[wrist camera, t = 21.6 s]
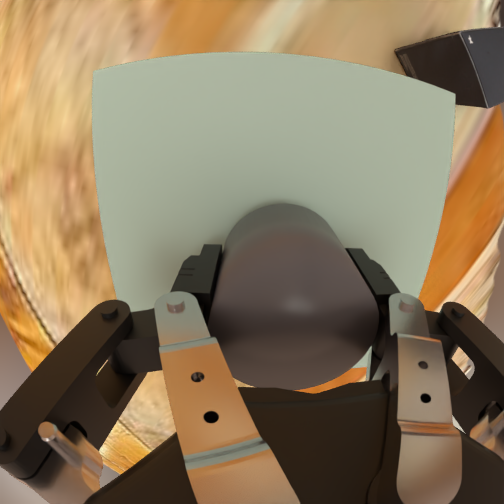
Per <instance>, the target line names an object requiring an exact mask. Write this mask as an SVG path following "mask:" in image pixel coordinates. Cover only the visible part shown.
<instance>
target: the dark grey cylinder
mask: <svg viewBox="0 0 504 504" xmlns="http://www.w3.org/2000/svg"><path fill="white" fill-rule="evenodd" d="M378 325H379V311H378V307H377V303H376V301H375V298H374V296H373V295H372V293H371V291H370V289H369V288H368V286H367V284H366V283H365V281H364V279H363V278H362V276H361V274H360V273H359V271H358V269H357V268H356V266H355V264H354V263H353V261H352V259H351V258H350V256H349V255H348V253H347V251H346V250H345V248H344V247H343V245H342V244H341V242H340V240H339V239H338V237H337V236H336V234H335V233H334V231H333V230H332V228H331V227H330V225H329V224H328V223H327V222H326V221H325V220H324V219H323V218H322V217H321V216H320V215H318V214H317V213H316V212H314V211H312V210H310V209H308V208H305V207H303V206H299V205H295V204H273V205H268V206H264V207H261V208H259V209H256V210H254V211H252V212H250V213H249V214H247V215H246V216H244V217H243V218H242V219H241V220H240V221H239V222H238V223H237V224H236V225H235V226H234V227H233V229H232V230H231V231H230V233H229V235H228V237H227V239H226V242H225V244H224V249H223V253H222V258H221V263H220V267H219V272H218V277H217V282H216V286H215V291H214V296H213V301H212V306H211V311H210V316H209V321H208V327H207V329H208V331H209V334H210V336H211V337H215V338H216V339H217V341H218V344H219V346H220V349H221V351H222V353H223V356H224V358H225V360H226V363H227V365H228V367H229V370H230V372H231V374H232V377H233V378H235V379H237V380H239V381H241V382H243V383H245V384H248V385H250V386H254V387H259V388H272V387H276V388H281V389H287V390H300V389H306V388H310V387H314V386H318V385H321V384H324V383H326V382H328V381H331V380H333V379H335V378H337V377H339V376H340V375H342V374H344V373H345V372H347V371H348V370H349V369H351V368H352V367H353V366H355V365H356V364H357V363H358V362H359V361H360V360H361V359H362V358H363V356H364V355H365V354H366V353H367V351H368V350H369V348H370V347H371V345H372V343H373V341H374V339H375V337H376V334H377V330H378Z"/></svg>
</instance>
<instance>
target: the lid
mask: <svg viewBox="0 0 504 504" xmlns="http://www.w3.org/2000/svg"><path fill="white" fill-rule="evenodd" d="M454 124H455V94H454V93H452V92H449V91H447V90H444V89H442V88H439V87H436V86H434V85H431V84H428V83H425V82H422V81H419V80H416V79H413V78H410V77H407V76H404V75H400V74H397V73H393V72H390V71H386V70H382V69H378V68H374V67H370V66H365V65H361V64H356V63H351V62H346V61H340V60H334V59H328V58H321V57H314V56H305V55H295V54H284V53H267V52H213V53H197V54H185V55H176V56H167V57H160V58H153V59H147V60H141V61H135V62H130V63H125V64H121V65H116V66H112V67H107V68H103V69H99V70H96V71H93V85H92V135H93V154H94V168H95V179H96V188H97V196H98V204H99V211H100V218H101V224H102V230H103V236H104V242H105V247H106V252H107V257H108V262H109V266H110V271H111V275H112V280H113V284H114V288H115V292H116V296H117V300H121V301H124V302H126V303H127V304H128V305H129V307H130V310H131V312H135V311H142V310H148V309H152V308H154V304H155V302H156V300H157V299H158V298H159V297H161V296H162V295H164V294H167V293H170V291H171V289H172V286H173V284H174V282H175V279H176V277H177V275H178V272H179V270H180V268H181V266H182V263H183V261H184V260H186V259H187V258H188V257H189V256H191V255H200V253H201V250H202V248H203V245H204V244H221V245H222V253H223V249H224V244H225V242H226V239H227V237H228V235H229V233H230V231H231V230H232V229H233V227H234V226H235V225H236V224H237V223H238V222H239V221H240V220H241V219H242V218H243V217H244V216H246V215H247V214H249V213H250V212H252V211H254V210H256V209H259V208H261V207H264V206H268V205H273V204H295V205H299V206H303V207H305V208H308V209H310V210H312V211H314V212H316V213H317V214H318V215H320V216H321V217H322V218H323V219H324V220H325V221H326V222H327V223H328V224H329V225H330V227H331V228H332V230H333V231H334V233H335V234H336V236H337V237H338V239H339V240H340V242H341V244H342V245H343V247H344V248H362V249H363V250H364V251H365V253H366V254H367V255H368V257H369V258H370V259H372V260H374V261H376V262H377V263H378V264H380V265H381V266H382V267H383V268H384V270H385V271H386V273H387V274H388V275H389V277H390V279H392V281H393V282H394V283H395V285H396V286H397V288H398V289H399V290H400V292H401V293H405V294H409V295H412V296H414V297H416V298H417V299H418V297H419V294H420V291H421V288H422V285H423V282H424V279H425V276H426V273H427V270H428V267H429V263H430V260H431V256H432V253H433V249H434V246H435V242H436V238H437V234H438V230H439V226H440V221H441V217H442V212H443V208H444V203H445V197H446V192H447V186H448V180H449V173H450V166H451V158H452V149H453V138H454ZM370 349H371V347H370V348H369V350H368V351H367V353H366V354H365V355H364V356H363V358H362V359H361V360H360V361H359V362H358V363H357V364H356V365H355V366H353V367H352V368H360V367H367V363H368V354H369V352H370Z"/></svg>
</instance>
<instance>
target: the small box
mask: <svg viewBox="0 0 504 504" xmlns="http://www.w3.org/2000/svg"><path fill="white" fill-rule="evenodd" d="M395 52H396V54H397V57H398V58H399V60H400V61H401V64H402V66H403V68H404V70H405V72H406V74H407V76H408V77H410V78H413V79H416V80H419V81H422V82H425V83H428V84H431V85H434V86H436V87H439V88H442V89H444V90H447V91H449V92H452V93H454V94H455V105H465V106H474V107H483V108H491V107H493V106H496V105H498V104H500V103H503V102H504V27H492V28H480V29H471V30H463V31H457V32H453V33H449V34H446V35H442V36H438V37H435V38H431V39H427V40H425V41H422V42H418V43H415V44H412V45H408V46H404V47H401V48H398V49H395Z"/></svg>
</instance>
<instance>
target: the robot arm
mask: <svg viewBox="0 0 504 504" xmlns="http://www.w3.org/2000/svg"><path fill="white" fill-rule="evenodd" d="M345 250H346V251H347V253H348V255H349V256H350V258H351V259H352V261H353V263H354V264H355V266H356V268H357V269H358V271H359V273H360V274H361V276H362V278H363V279H364V281H365V283H366V284H367V286H368V288H369V289H370V291H371V293H372V295H373V296H374V298H375V301H376V303H377V307H378V311H379V325H378V330H377V334H376V337H375V339H374V341H373V343H372V345H371V349H370V352H369V354H368V363H367V373H366V381H364V382H356V383H348V384H345V385H342V386H339V387H336V388H333V389H330V390H327V391H324V392H320V393H316V394H312V393H305V392H298V391H293V390H287V389H281V388H276V387H272V388H259V387H238V388H237V386H236V383H235V381H234V379H233V377H232V374H231V372H230V370H229V367H228V365H227V363H226V360H225V358H224V356H223V353H222V351H221V349H220V346H219V344H218V341H217V339H216V338H215V337H211V336H210V334H209V331H208V329H207V327H208V321H209V316H210V311H211V306H212V301H213V296H214V291H215V286H216V282H217V277H218V272H219V267H220V263H221V258H222V245H221V244H204V245H203V248H202V250H201V253H200V255H191V256H189V257H188V258H187V259H186V260H184V261H183V263H182V266H181V268H180V270H179V272H178V275H177V277H176V279H175V282H174V284H173V286H172V289H171V291H170V293H167V294H164V295H162V296H161V297H159V298H158V299H157V300H156V302H155V304H154V308H152V309H148V310H142V311H135V312H131V310H130V307H129V305H128V304H127V303H126V302H124V301H121V300H108V301H105V302H102V303H100V304H98V305H97V306H96V307H94V308H93V309H92V310H91V311H90V312H89V313H88V314H87V315H86V316H85V317H84V318H83V319H82V320H81V321H80V322H79V323H78V324H77V325H76V326H75V327H74V328H73V329H72V330H71V331H70V332H69V333H68V335H67V336H66V337H65V338H64V339H63V340H62V341H61V342H60V343H59V344H58V345H57V346H56V347H55V348H54V349H53V350H52V351H51V352H50V354H49V355H48V356H47V357H46V358H45V359H44V360H43V361H42V362H41V363H40V365H39V366H38V367H37V368H36V369H35V370H34V371H33V372H32V373H31V375H30V376H29V377H28V378H27V379H26V380H25V382H24V383H23V384H22V385H21V386H20V387H19V389H18V390H17V391H16V392H15V393H14V395H13V396H12V397H11V398H10V399H9V401H8V402H7V403H6V404H5V405H4V407H3V408H2V409H1V411H0V466H1V467H2V468H3V469H5V470H6V471H8V472H9V474H10V475H11V476H13V477H14V478H16V479H17V480H19V481H20V482H22V483H23V484H25V485H27V486H29V487H30V488H32V489H33V490H34V491H35V492H37V493H38V494H39V495H40V496H41V497H42V498H44V499H45V500H46V501H47V502H49V503H50V504H504V344H503V342H502V341H501V340H500V339H499V338H497V337H496V335H495V334H494V333H492V332H491V331H490V330H489V329H488V328H487V327H486V326H485V325H484V324H483V323H482V322H481V321H480V320H479V319H478V318H477V317H476V316H475V315H474V314H473V313H471V312H470V311H469V310H468V309H467V308H466V307H464V306H463V305H461V304H459V303H456V302H446V303H445V304H443V306H442V309H441V311H440V313H438V312H432V311H426V310H425V309H424V306H423V304H422V303H421V301H420V300H418V299H417V298H416V297H414V296H412V295H409V294H405V293H401V292H400V290H399V289H398V288H397V286H396V285H395V283H394V282H393V281H392V279H390V277H389V275H388V274H387V273H386V271H385V270H384V268H383V267H382V266H381V265H380V264H378V263H377V262H376V261H374V260H372V259H370V258H369V257H368V255H367V254H366V253H365V251H364V250H363V249H362V248H345ZM458 347H460V348H461V349H462V350H463V351H464V352H465V353H466V355H467V356H468V357H469V358H470V359H471V360H472V361H473V363H474V366H475V371H474V374H473V375H472V377H471V378H470V380H469V379H468V378H467V377H466V375H465V374H464V373H463V372H462V371H461V369H460V368H459V367H458V366H457V365H456V364H455V362H454V361H453V360H452V359H451V358H452V357H453V355H454V353H455V352H456V350H457V348H458ZM107 359H108V361H107V363H106V364H105V365H104V367H103V368H102V369H101V370H100V372H99V373H98V374H97V372H98V371H99V369H100V368H101V367H102V366H103V364H104V363H105V362H106V360H107ZM159 370H163V374H164V379H165V384H166V389H167V393H168V398H169V402H170V407H171V411H172V415H173V419H174V423H175V427H176V432H175V433H174V434H173V435H172V436H170V437H169V438H168V439H167V440H166V441H164V442H163V443H162V444H161V445H159V446H158V447H157V448H156V449H154V450H153V451H152V452H150V453H149V454H148V455H147V456H145V457H144V458H143V459H141V460H140V461H139V462H137V463H136V464H135V465H133V466H132V467H131V468H129V469H128V470H127V471H125V472H124V473H122V474H121V475H120V476H118V477H117V478H115V479H114V480H112V481H111V482H110V483H108V484H107V485H105V486H104V487H102V488H100V484H99V478H100V476H101V472H102V469H103V460H102V457H101V454H100V453H99V450H100V448H101V446H102V445H103V443H104V441H105V440H106V438H107V437H108V435H109V433H110V432H111V430H112V428H113V427H114V425H115V424H116V422H117V420H118V419H119V417H120V416H121V414H122V412H123V411H124V409H125V408H126V406H127V404H128V403H129V401H130V400H131V398H132V396H133V395H134V393H135V392H136V390H137V389H138V387H139V385H140V384H141V382H142V381H143V379H144V378H145V376H146V374H147V372H152V371H159ZM96 375H97V376H96ZM452 415H453V416H454V418H455V419H456V420H457V422H458V423H459V425H460V426H461V428H462V429H463V431H464V432H465V433H466V434H465V433H464V432H462V431H461V430H459V429H458V428H456V427H455V426H454V425H453V421H452Z"/></svg>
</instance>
